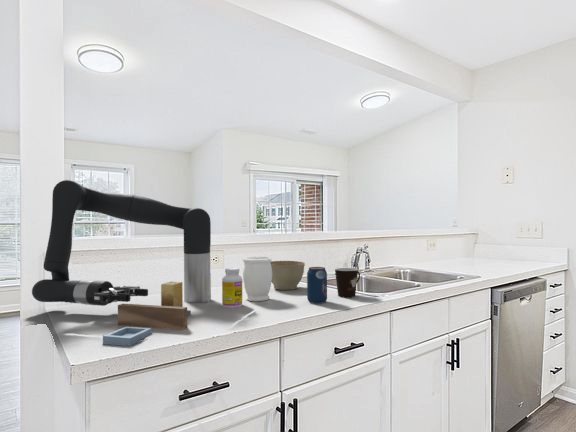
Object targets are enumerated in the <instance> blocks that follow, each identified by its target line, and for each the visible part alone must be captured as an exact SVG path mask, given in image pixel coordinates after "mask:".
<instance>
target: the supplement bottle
mask: <svg viewBox="0 0 576 432" xmlns="http://www.w3.org/2000/svg"><path fill="white" fill-rule="evenodd" d="M224 269H225V270H224V273H225V275H224V276H223V277H222V279H221V283H222V284H221V291H222V292H221V294H222V295H221V301H222V303H221V304H222V307H223V308H229V309H230V308H231V309H232V308H240V307H242V306H243V276H240V275H239V274H240V268H239V267H226V268H224Z"/></svg>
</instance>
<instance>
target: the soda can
mask: <svg viewBox="0 0 576 432" xmlns="http://www.w3.org/2000/svg"><path fill="white" fill-rule="evenodd" d="M306 285H307V286H306V289H307V290H306V293H307V294H306V295H307V297H306V298H307V301H308V302H309V303H310V304H313V305H315V304H316V305H318V304H319V305H322V304H326V302H327V300H328V273H327V270H326V268H325V267H323V266H311V267H308V271H307V272H306Z"/></svg>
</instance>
